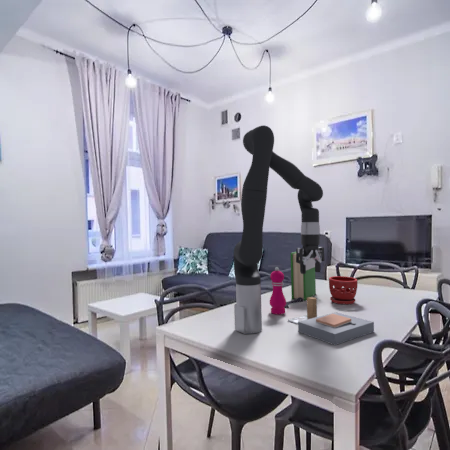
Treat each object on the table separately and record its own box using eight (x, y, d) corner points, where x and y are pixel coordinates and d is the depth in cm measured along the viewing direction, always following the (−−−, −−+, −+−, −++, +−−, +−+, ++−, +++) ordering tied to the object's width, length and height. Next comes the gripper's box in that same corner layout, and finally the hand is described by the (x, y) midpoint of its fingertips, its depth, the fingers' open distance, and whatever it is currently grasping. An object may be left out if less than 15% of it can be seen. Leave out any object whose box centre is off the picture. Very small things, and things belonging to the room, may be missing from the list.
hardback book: (305, 300, 160) (304, 253, 160) (291, 299, 164) (290, 252, 164) (315, 293, 175) (314, 250, 175) (302, 292, 179) (301, 250, 179)
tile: (351, 318, 111) (351, 321, 111) (332, 313, 118) (332, 316, 118) (334, 324, 107) (334, 327, 107) (316, 319, 113) (316, 322, 113)
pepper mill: (273, 309, 144) (272, 265, 144) (288, 311, 141) (287, 266, 141) (267, 313, 138) (266, 267, 138) (282, 315, 134) (281, 268, 135)
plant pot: (329, 305, 150) (328, 279, 150) (329, 298, 163) (328, 275, 163) (359, 306, 146) (358, 280, 146) (357, 300, 158) (356, 276, 158)
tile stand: (335, 344, 101) (334, 332, 101) (298, 331, 114) (298, 320, 114) (374, 331, 112) (373, 320, 112) (336, 320, 125) (336, 311, 125)
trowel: (300, 326, 121) (300, 303, 121) (288, 321, 127) (287, 299, 127) (325, 319, 128) (325, 298, 128) (312, 315, 134) (311, 295, 134)
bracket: (311, 305, 152) (311, 300, 152) (285, 309, 146) (285, 303, 146) (294, 299, 165) (293, 294, 165) (269, 303, 160) (269, 297, 160)
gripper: (305, 233, 123) (305, 275, 123) (329, 233, 130) (329, 272, 130) (291, 233, 129) (291, 273, 129) (315, 233, 137) (315, 270, 137)
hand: (310, 272), depth 130 cm, fingers open, 8 cm apart
